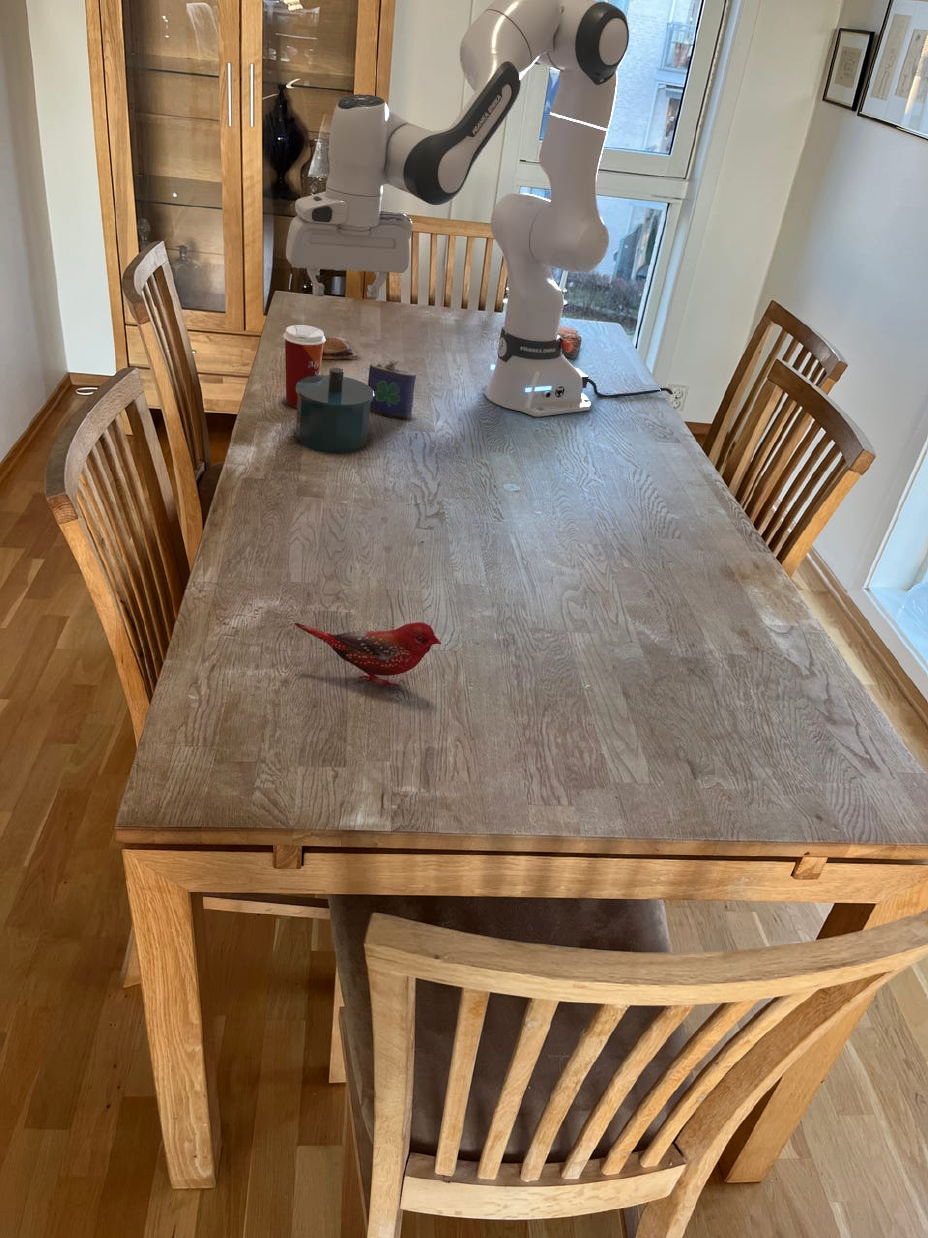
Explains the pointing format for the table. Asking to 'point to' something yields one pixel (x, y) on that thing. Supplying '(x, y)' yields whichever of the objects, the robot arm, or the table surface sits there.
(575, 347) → the pottery shard
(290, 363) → the paper cup
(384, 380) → the flask
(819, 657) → the table surface
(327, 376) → the pot lid
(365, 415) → the pot
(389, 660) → the decorative bird figurine
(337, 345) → the bread roll
